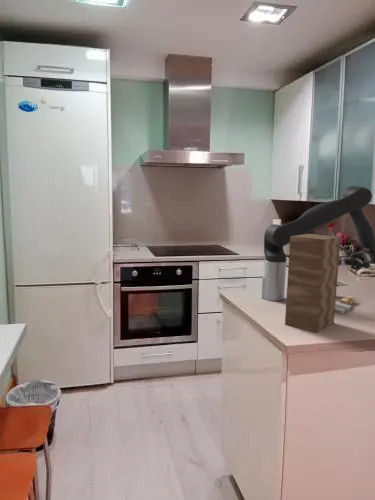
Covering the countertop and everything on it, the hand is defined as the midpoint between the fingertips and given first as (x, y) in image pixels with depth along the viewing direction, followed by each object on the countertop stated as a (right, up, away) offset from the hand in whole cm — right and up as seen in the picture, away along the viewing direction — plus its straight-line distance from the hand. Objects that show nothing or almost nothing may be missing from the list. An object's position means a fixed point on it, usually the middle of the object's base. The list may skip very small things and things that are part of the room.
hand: (346, 264), depth 167 cm
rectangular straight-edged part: (-1, -18, +2) cm, 18 cm away
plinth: (-22, -21, -22) cm, 38 cm away
